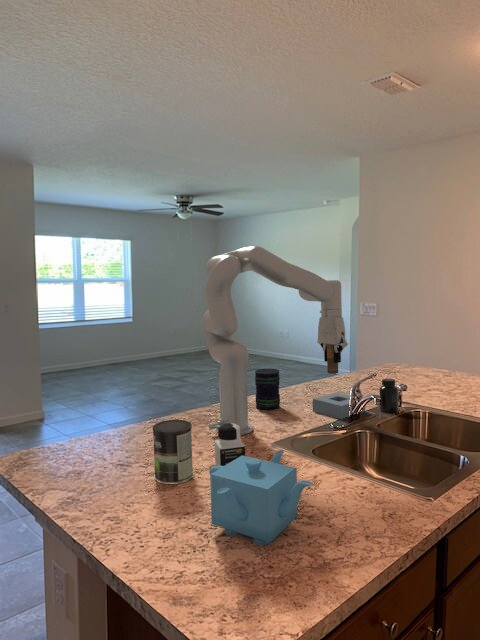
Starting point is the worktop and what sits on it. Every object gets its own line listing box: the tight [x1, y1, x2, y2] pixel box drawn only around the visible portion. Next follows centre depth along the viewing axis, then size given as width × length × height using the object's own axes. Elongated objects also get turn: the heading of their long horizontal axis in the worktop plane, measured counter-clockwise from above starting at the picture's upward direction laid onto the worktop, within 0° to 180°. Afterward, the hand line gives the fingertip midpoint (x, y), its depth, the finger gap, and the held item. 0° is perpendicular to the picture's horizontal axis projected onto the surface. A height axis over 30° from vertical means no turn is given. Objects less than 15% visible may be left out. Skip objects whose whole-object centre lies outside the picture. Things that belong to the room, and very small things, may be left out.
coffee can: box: [152, 419, 194, 484], centre depth 125 cm, size 10×10×14 cm
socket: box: [312, 392, 366, 420], centre depth 181 cm, size 14×14×5 cm
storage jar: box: [254, 368, 281, 412], centre depth 188 cm, size 10×10×15 cm
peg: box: [326, 344, 339, 375], centre depth 177 cm, size 4×4×12 cm
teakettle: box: [209, 449, 314, 547], centre depth 98 cm, size 19×19×15 cm
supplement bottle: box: [379, 378, 399, 413], centre depth 180 cm, size 7×7×12 cm
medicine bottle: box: [214, 423, 246, 466], centre depth 131 cm, size 7×7×12 cm
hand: (332, 361), depth 177 cm, fingers closed on peg, 4 cm apart
